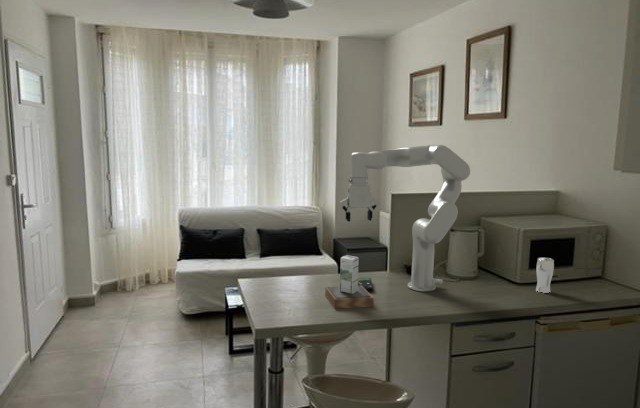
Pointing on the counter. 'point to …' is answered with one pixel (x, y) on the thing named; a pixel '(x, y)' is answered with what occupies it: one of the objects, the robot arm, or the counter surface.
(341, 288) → the syrup box
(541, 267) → the beer glass
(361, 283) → the disk drive
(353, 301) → the stand
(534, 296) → the counter surface
